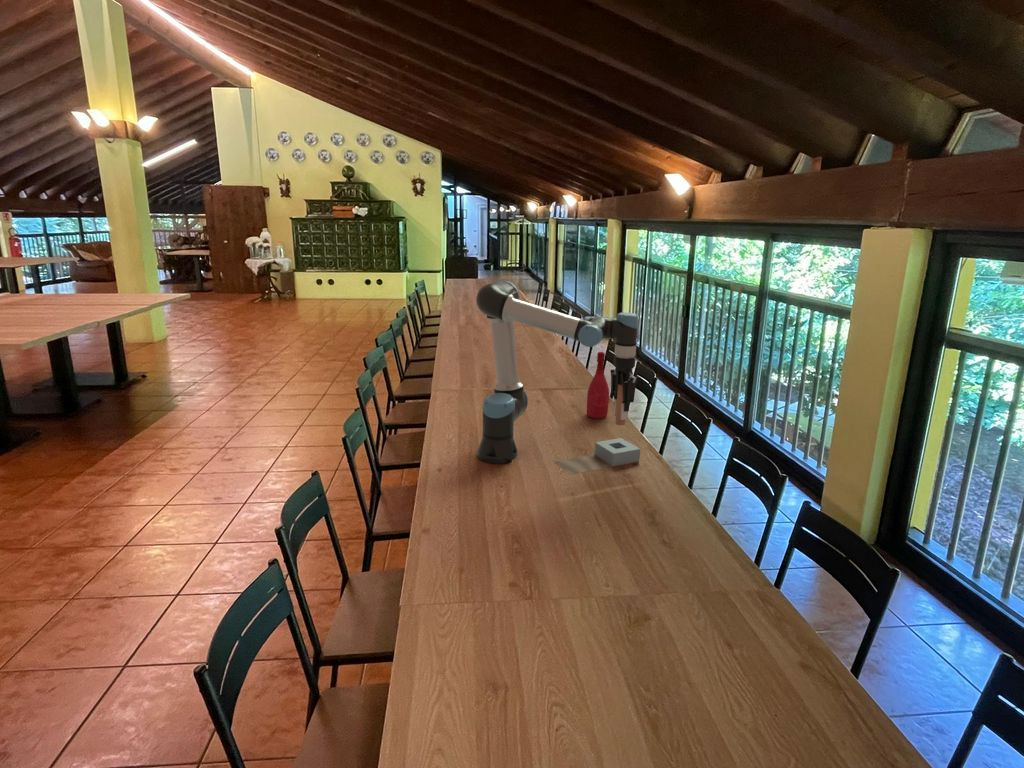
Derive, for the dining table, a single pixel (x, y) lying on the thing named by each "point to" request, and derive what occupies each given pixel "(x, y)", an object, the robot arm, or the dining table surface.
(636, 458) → the socket
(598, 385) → the wine bottle
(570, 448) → the dining table surface
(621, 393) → the peg
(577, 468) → the board
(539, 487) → the dining table surface
